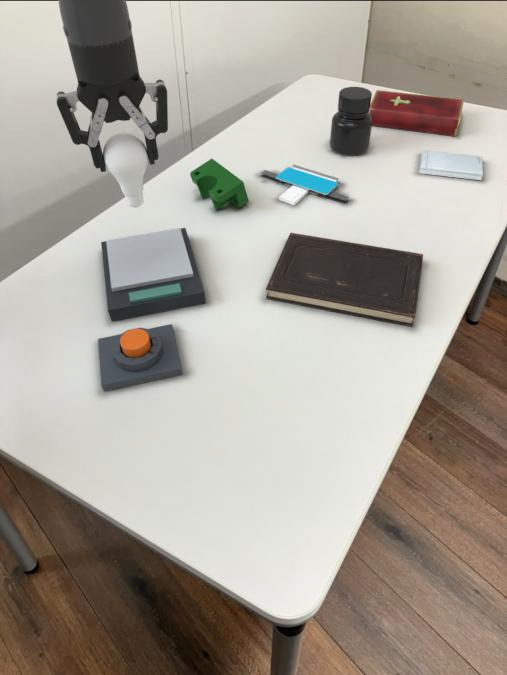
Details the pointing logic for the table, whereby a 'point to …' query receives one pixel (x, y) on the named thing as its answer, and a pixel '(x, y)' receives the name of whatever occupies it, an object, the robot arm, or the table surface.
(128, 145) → the lightbulb
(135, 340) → the button
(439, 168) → the hard drive
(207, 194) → the clamp
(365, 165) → the table surface
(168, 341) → the control unit
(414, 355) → the table surface
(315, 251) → the hardcover book
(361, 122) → the ink bottle
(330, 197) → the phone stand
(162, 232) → the scale
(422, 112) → the hardcover book
